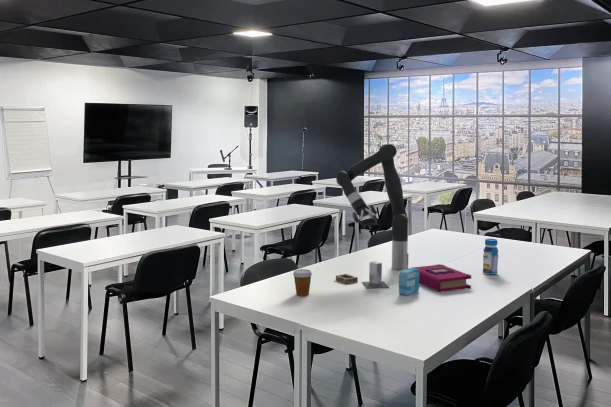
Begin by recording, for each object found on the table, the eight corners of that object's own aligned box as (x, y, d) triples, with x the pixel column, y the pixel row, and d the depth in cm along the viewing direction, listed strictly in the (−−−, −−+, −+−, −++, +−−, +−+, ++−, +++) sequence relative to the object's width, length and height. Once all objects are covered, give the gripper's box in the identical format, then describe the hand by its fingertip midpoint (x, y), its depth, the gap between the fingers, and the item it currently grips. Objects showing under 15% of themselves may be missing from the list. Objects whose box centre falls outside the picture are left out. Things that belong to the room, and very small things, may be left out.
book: (438, 293, 284) (438, 278, 283) (408, 279, 310) (409, 266, 309) (472, 288, 291) (472, 274, 290) (440, 276, 317) (441, 263, 316)
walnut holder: (335, 280, 308) (335, 275, 308) (346, 278, 312) (346, 273, 312) (347, 283, 300) (347, 279, 300) (357, 281, 304) (357, 277, 304)
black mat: (384, 282, 304) (384, 281, 304) (388, 287, 292) (388, 287, 292) (362, 282, 303) (362, 281, 303) (366, 288, 291) (366, 287, 291)
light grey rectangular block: (369, 283, 299) (369, 261, 297) (374, 282, 301) (374, 261, 299) (376, 286, 294) (376, 264, 292) (381, 285, 296) (381, 263, 294)
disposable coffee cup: (298, 298, 274) (298, 274, 273) (290, 293, 282) (289, 270, 281) (315, 295, 278) (315, 272, 277) (306, 291, 287) (306, 268, 285)
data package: (406, 296, 277) (406, 272, 275) (398, 294, 280) (398, 271, 278) (419, 291, 285) (419, 268, 284) (411, 289, 288) (412, 267, 287)
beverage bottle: (498, 275, 316) (500, 241, 314) (483, 274, 318) (484, 240, 316) (496, 272, 325) (498, 238, 322) (481, 271, 326) (482, 237, 324)
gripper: (348, 202, 314) (363, 226, 309) (368, 194, 320) (383, 217, 315) (344, 208, 320) (359, 231, 315) (364, 200, 326) (378, 223, 321)
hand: (371, 224), depth 315 cm, fingers open, 8 cm apart
